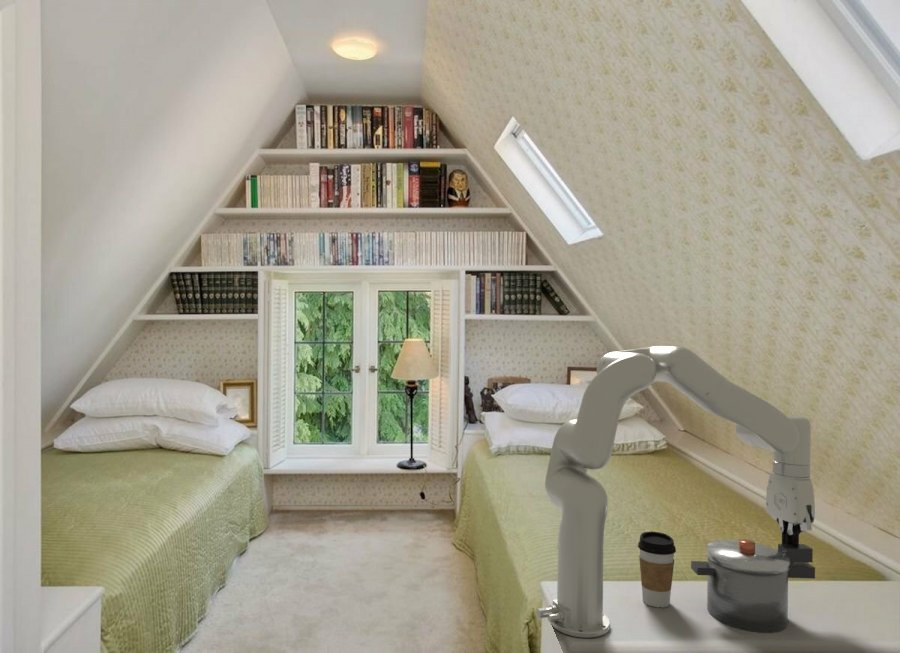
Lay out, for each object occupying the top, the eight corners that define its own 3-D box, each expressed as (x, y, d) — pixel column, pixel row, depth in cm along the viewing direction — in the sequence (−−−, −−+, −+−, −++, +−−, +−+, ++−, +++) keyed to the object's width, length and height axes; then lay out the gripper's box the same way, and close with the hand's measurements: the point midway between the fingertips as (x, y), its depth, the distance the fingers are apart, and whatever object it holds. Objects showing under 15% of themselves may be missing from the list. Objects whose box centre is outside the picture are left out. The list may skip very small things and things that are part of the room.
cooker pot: (707, 630, 125) (708, 572, 126) (681, 597, 141) (681, 546, 142) (832, 635, 124) (832, 577, 125) (791, 601, 140) (791, 549, 141)
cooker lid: (729, 574, 125) (729, 554, 125) (693, 546, 141) (693, 529, 141) (833, 574, 125) (833, 555, 125) (785, 547, 142) (785, 530, 142)
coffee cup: (669, 595, 143) (670, 531, 143) (680, 611, 134) (680, 544, 134) (633, 593, 143) (634, 530, 144) (641, 609, 135) (642, 542, 135)
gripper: (753, 463, 144) (752, 540, 143) (804, 478, 129) (802, 563, 129) (779, 462, 146) (778, 538, 145) (832, 476, 131) (831, 561, 131)
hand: (790, 550), depth 137 cm, fingers closed
